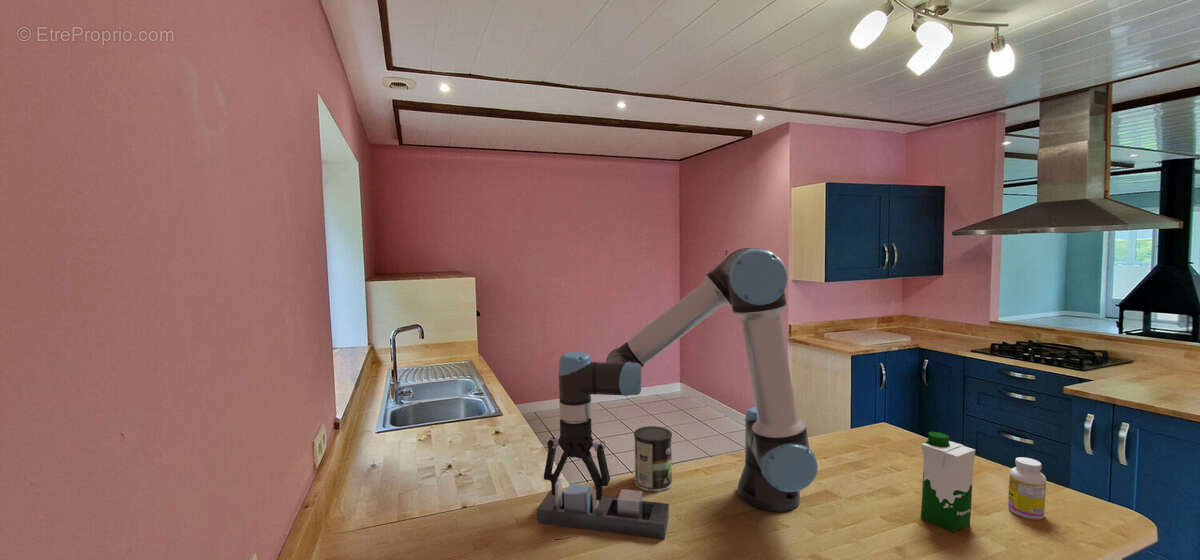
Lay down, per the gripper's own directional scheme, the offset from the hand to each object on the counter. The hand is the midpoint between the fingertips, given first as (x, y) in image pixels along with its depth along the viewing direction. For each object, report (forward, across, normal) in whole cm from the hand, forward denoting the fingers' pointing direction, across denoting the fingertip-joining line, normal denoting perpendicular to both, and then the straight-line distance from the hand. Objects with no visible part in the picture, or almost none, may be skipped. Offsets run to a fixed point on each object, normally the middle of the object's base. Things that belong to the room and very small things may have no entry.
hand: (577, 509), depth 119 cm
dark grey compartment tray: (+2, -6, 0) cm, 7 cm away
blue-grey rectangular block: (+2, 0, 0) cm, 2 cm away
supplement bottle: (+2, -104, -25) cm, 107 cm away
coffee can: (+2, -16, -21) cm, 26 cm away
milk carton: (+2, -84, -17) cm, 86 cm away
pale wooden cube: (+2, -13, 0) cm, 13 cm away
